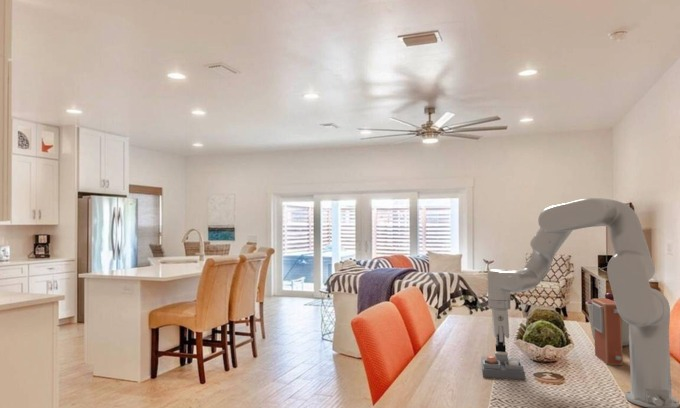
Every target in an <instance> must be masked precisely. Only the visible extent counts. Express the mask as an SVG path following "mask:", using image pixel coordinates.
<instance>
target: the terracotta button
mask: <svg viewBox="0 0 680 408" xmlns="http://www.w3.org/2000/svg"><path fill="white" fill-rule="evenodd" d="M486 357H487V362H489V363H496V362H497V360H496V357H495V355H494V356H492V355H487V356H486Z"/></svg>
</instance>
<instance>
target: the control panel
mask: <svg viewBox="0 0 680 408" xmlns="http://www.w3.org/2000/svg"><path fill="white" fill-rule="evenodd" d="M592 299H593V303H592V314H593V328H594V337H595V340H594V355H595V356H596V357H597V358H599V360H601V361H602V362H604V364H606V365H611V366H612V365H614V366H623V365H624V359H623V346H622V329H621V325H622V318H621V316H620V315H619V313H618V310H617V307H616V304H615V302H614V301H611V300H609V299H597V298H592Z"/></svg>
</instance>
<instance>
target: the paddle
mask: <svg viewBox="0 0 680 408" xmlns="http://www.w3.org/2000/svg"><path fill="white" fill-rule="evenodd" d="M494 356H495V357H496V360H497V361H500V363H505V362H504V361H508V356H509V355H508V352H507V351H506V352H497V351H496V350H495V351H494Z"/></svg>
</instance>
